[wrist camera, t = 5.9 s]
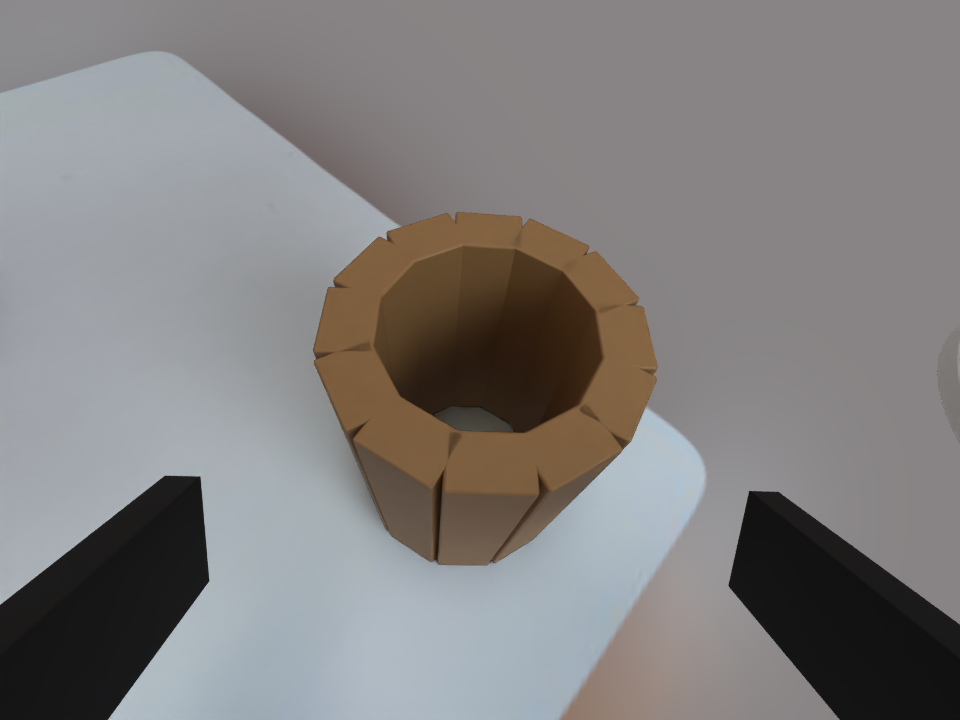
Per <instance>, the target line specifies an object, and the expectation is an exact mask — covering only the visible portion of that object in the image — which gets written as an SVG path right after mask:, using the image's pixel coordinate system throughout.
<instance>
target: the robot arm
mask: <svg viewBox="0 0 960 720" xmlns="http://www.w3.org/2000/svg"><path fill="white" fill-rule="evenodd" d="M208 582H209V573H208V561H207V549H206V537H205V525H204V513H203V501H202V490H201V478H200V477H194V476H164V477H163V478H162V479H160V480H159V481H158V482H156V483H155V484H154V485H153V486H151V487H150V488H149V489H148V490H146V491H145V492H144V493H142V494H141V495H140V496H139V497H137V498H136V499H135V500H133V501H132V502H131V503H130V504H128V505H127V506H126V507H125V508H123V509H122V510H121V511H119V512H118V513H117V514H116V515H114V516H113V517H112V518H111V519H109V520H108V521H107V522H105V523H104V524H103V525H102V526H100V527H99V528H98V529H97V530H95V531H94V532H93V533H91V534H90V535H89V536H88V537H86V538H85V539H84V540H82V541H81V542H80V543H79V544H77V545H76V546H75V547H74V548H72V549H71V550H70V551H68V552H67V553H66V554H65V555H63V556H62V557H61V558H60V559H58V560H57V561H56V562H54V563H53V564H52V565H51V566H49V567H48V568H47V569H46V570H44V571H43V572H42V573H40V574H39V575H38V576H37V577H35V578H34V579H33V580H31V581H30V582H29V583H28V584H26V585H25V586H24V587H23V588H21V589H20V590H19V591H17V592H16V593H15V594H14V595H12V596H11V597H10V598H9V599H7V600H6V601H5V602H3V603H2V604H1V605H0V720H108V719H109V717H110V716H111V714H112V713H113V712H114V710H115V709H116V708H117V706H118V705H119V704H120V702H121V701H122V699H123V698H124V697H125V695H126V694H127V693H128V691H129V690H130V689H131V687H132V686H133V684H134V683H135V682H136V680H137V679H138V678H139V676H140V675H141V674H142V672H143V671H144V669H145V668H146V667H147V665H148V664H149V663H150V661H151V660H152V659H153V657H154V656H155V654H156V653H157V652H158V650H159V649H160V648H161V646H162V645H163V643H164V642H165V641H166V639H167V638H168V637H169V635H170V634H171V633H172V631H173V630H174V628H175V627H176V626H177V624H178V623H179V622H180V620H181V619H182V618H183V616H184V615H185V613H186V612H187V611H188V609H189V608H190V607H191V605H192V604H193V603H194V601H195V600H196V598H197V597H198V596H199V594H200V593H201V592H202V590H203V589H204V588H205V586H206V585H207V583H208ZM729 587H730V588H731V589H732V591H733V592H734V593H735V594H736V596H737V597H738V598H739V599H740V600H741V602H742V603H743V604H744V605H745V606H746V608H747V609H748V610H749V611H750V612H751V614H752V615H753V616H754V617H755V618H756V620H757V621H758V622H759V623H760V624H761V626H762V627H763V628H764V629H765V630H766V632H767V633H768V634H769V635H770V636H771V638H772V639H773V640H774V641H775V642H776V644H777V645H778V646H779V647H780V648H781V650H782V651H783V652H784V653H785V654H786V656H787V657H788V658H789V659H790V660H791V662H792V663H793V664H794V665H795V666H796V668H797V669H798V670H799V671H800V672H801V674H802V675H803V676H804V677H805V678H806V680H807V681H808V682H809V683H810V684H811V686H812V687H813V688H814V689H815V690H816V692H817V693H818V694H819V695H820V696H821V698H823V700H824V701H825V702H826V704H827V705H828V706H829V707H830V708H831V709H832V711H833V712H834V713H835V714H836V715H837V717H838V718H839V719H840V720H960V625H959V624H958V623H957V622H956V621H954V620H952V619H951V618H950V617H949V616H947V615H946V614H944V613H943V612H942V611H940V610H939V609H938V608H936V607H935V606H934V605H932V604H931V603H930V602H928V601H926V600H925V599H924V598H923V597H921V596H920V595H919V594H917V593H916V592H914V591H913V590H912V589H910V588H909V587H908V586H906V585H905V584H903V583H902V582H901V581H899V580H898V579H897V578H895V577H894V576H892V575H891V574H890V573H888V572H887V571H886V570H884V569H883V568H882V567H880V566H879V565H878V564H876V563H875V562H873V561H872V560H871V559H869V558H868V557H867V556H865V555H864V554H863V553H861V552H860V551H858V550H857V549H856V548H854V547H853V546H852V545H850V544H849V543H847V542H846V541H845V540H843V539H842V538H841V537H839V536H838V535H837V534H835V533H834V532H832V531H831V530H829V529H828V528H827V527H826V526H824V525H823V524H821V523H820V522H819V521H817V520H816V519H815V518H813V517H812V516H810V515H809V514H807V513H806V512H805V511H804V510H802V509H801V508H799V507H798V506H797V505H795V504H794V503H793V502H791V501H790V500H789V499H787V498H786V497H785V496H783V495H782V494H780V493H779V492H762V491H749V495H748V500H747V504H746V508H745V513H744V517H743V522H742V526H741V531H740V536H739V540H738V545H737V549H736V554H735V558H734V563H733V567H732V572H731V576H730V581H729Z"/></svg>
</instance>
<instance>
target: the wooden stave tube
mask: <svg viewBox="0 0 960 720" xmlns="http://www.w3.org/2000/svg"><path fill="white" fill-rule="evenodd" d="M588 249H589V245H587V244H585V243H582V242H580V241H578V240H576V239H574V238H572V237H569V236H567V235H565V234H563V233H561V232H558V231H556V230H554V229H552V228H550V227H548V226H545V225H543V224H541V223H539V222H537V221H535V220H532V219H529V220H528V221H527V222H526V224H525V225H524V226H523V227H522V218H521V217H519V216H506V215H493V214H479V213H466V212H457V213H456V218H455V222H454V220H453V219H452V218H451V216H450V215H449V214H448V213H445V214H442V215H439V216H436V217H432V218H429V219H426V220H423V221H420V222H416V223H413V224H410V225H407V226H403V227H400V228H397V229H394V230H391V231H388V232H387V240H386V239H384V238H382V237H378V238H377V239H375V240H374V241H373V242H372V243H371V244H370V245H369V246H368V247H367V248H366V249H365V250H364V251H363V252H362V253H361V254H360V255H359V256H357V257H356V258H355V259H354V260H353V261H352V262H351V263H350V264H349V265H348V266H347V267H346V268H345V269H344V270H343V271H342V272H340V273H339V274H338V275H337V276H336V277H335V278H334V280H333V282H334V285H335V287H328V289H327V293H326V298H325V302H324V306H323V310H322V315H321V319H320V323H319V327H318V331H317V336H316V340H315V344H314V348H313V352H314V355H315V357H316V360H314V364H315V367H316V369H317V371H318V374H319V376H320V378H321V381H322V383H323V385H324V388H325V390H326V392H327V395H328V397H329V399H330V402H331V404H332V406H333V409H334V411H335V413H336V415H337V418H338V420H339V422H340V425H341V427H342V429H343V432H344V434H345V436H346V439H347V441H348V443H349V446H350V448H351V450H352V453H353V455H354V457H355V460H356V462H357V464H358V467H359V469H360V471H361V473H362V476H363V478H364V480H365V483H366V485H367V487H368V490H369V492H370V494H371V496H372V499H373V501H374V503H375V506H376V508H377V510H378V512H379V515H380V517H381V519H382V521H383V524H384V526H385V528H386V530H389V531H390V534H391V536H392V537H394V538H395V539H397V540H398V541H400V542H401V543H403V544H404V545H406V546H407V547H409V548H410V549H412V550H413V551H415V552H416V553H418V554H419V555H421V556H422V557H424V558H425V559H427V560H428V561H430V562H433V561H434V559H435V557H436V555H437V554H438V564H439V565H482V566H486V565H488V563H489V562H490V561H491V560H492V562H493V563H496V562H498V561H499V560H501V559H502V558H504V557H506V556H507V555H509V554H511V553H512V552H514V551H515V550H517V549H519V548H520V547H522V546H524V545H525V544H527V543H528V542H530V541H532V540H533V539H534V538H535V537H536V536H537V535H538V534H539V533H540V532H541V531H542V530H543V529H544V528H545V527H546V526H547V525H548V524H549V523H550V522H551V521H552V520H553V519H554V518H555V517H556V516H557V515H558V514H559V513H560V512H561V511H562V510H564V509H565V508H566V507H567V506H568V505H569V504H570V503H571V502H572V501H573V500H574V499H575V498H576V497H577V496H578V495H579V494H580V493H581V492H582V491H583V490H584V489H585V488H586V487H587V486H588V485H589V484H590V483H591V482H592V481H593V480H594V479H595V478H596V477H597V476H598V475H599V474H600V473H601V472H602V471H603V470H604V469H605V468H606V467H607V466H608V465H609V464H610V463H611V462H612V461H613V460H614V459H615V458H616V457H617V456H618V455H619V454H620V453H621V452H622V450H623V449H624V448H625V447H626V446H627V445H628V444H629V443H630V442H631V440H632V438H633V436H634V433H635V431H636V428H637V426H638V424H639V421H640V419H641V417H642V414H643V412H644V410H645V407H646V405H647V402H648V400H649V398H650V395H651V393H652V391H653V388H654V386H655V384H656V381H657V378H656V377H655V376H653V374H654V373H655V372H656V371H657V362H656V358H655V354H654V350H653V345H652V341H651V337H650V333H649V329H648V324H647V320H646V315H645V311H644V308H643V307H642V306H636V304H637V302H638V300H639V297H638V296H637V295H636V294H635V293H634V292H633V291H632V290H631V289H630V287H629V286H628V285H627V284H626V283H625V282H624V281H623V280H622V279H621V278H620V277H619V275H618V274H617V273H616V272H615V271H614V270H613V269H612V268H611V267H610V266H609V264H607V262H606V261H605V260H604V259H603V258H602V257H601V256H600V254H599V253H598V252H597V251H594V252H592V253H589V254H587V252H588ZM449 406H469V407H482V408H484V409H486V410H488V411H489V412H491V413H493V414H495V415H496V416H498V417H500V418H502V419H503V420H505V421H507V422H509V423H510V425H511V426H512V428H513V430H514V431H515V433H513V432H487V431H462V430H456V429H454V428H453V427H451V426H449V425H448V424H446V423H444V422H443V421H441V420H439V419H437V418H436V417H434V416H432V414H434V413H436V412H438V411H440V410H443V409H445V408H447V407H449Z"/></svg>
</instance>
